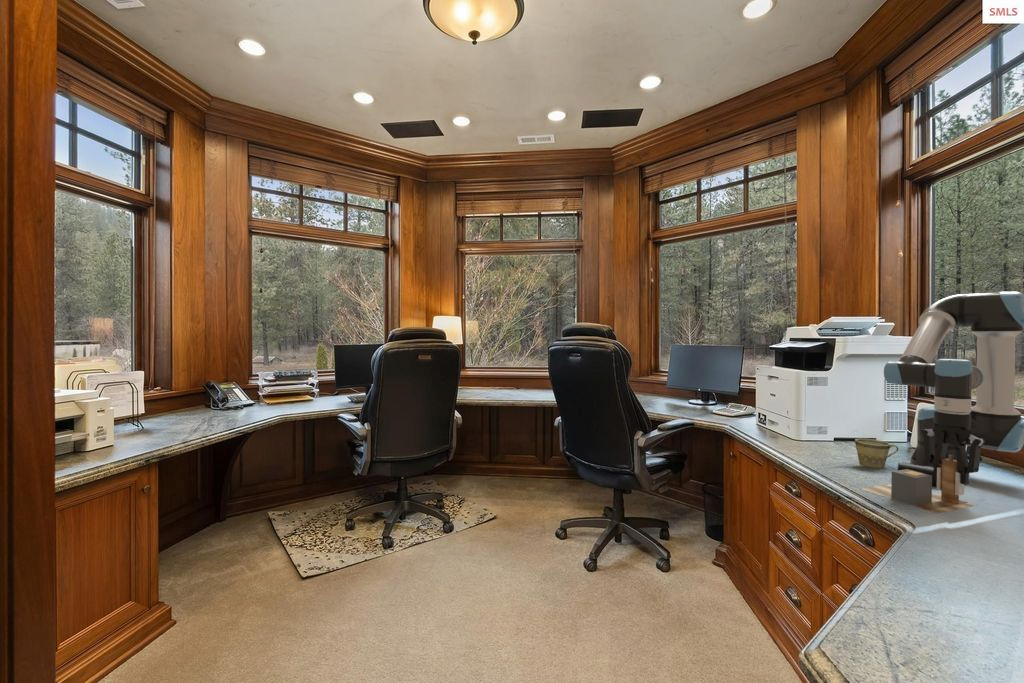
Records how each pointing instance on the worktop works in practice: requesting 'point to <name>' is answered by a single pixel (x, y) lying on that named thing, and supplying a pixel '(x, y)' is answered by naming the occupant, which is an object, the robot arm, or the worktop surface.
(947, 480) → the wooden tool handle
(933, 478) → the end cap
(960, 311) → the robot arm
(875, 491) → the birch board
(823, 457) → the worktop surface
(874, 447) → the ceramic cup
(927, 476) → the grey box with label
